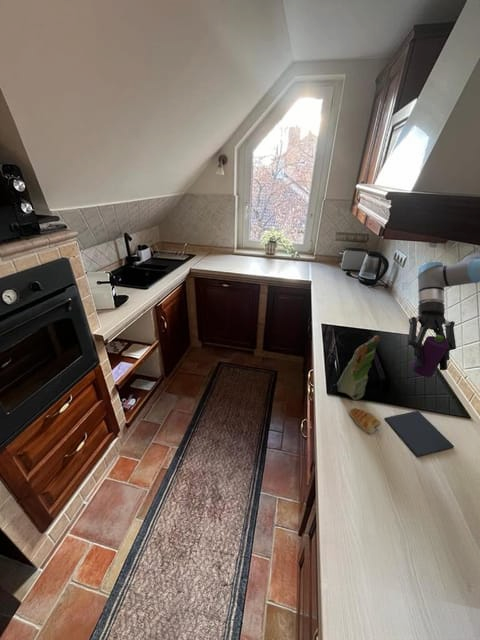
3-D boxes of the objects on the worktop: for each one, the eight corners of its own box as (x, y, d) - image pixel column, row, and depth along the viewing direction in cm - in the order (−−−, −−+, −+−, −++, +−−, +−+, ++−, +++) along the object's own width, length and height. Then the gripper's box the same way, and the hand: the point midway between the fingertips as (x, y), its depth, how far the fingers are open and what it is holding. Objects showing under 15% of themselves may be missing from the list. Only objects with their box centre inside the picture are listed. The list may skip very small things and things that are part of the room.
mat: (417, 412, 91) (418, 410, 91) (453, 447, 80) (454, 446, 79) (384, 419, 88) (384, 417, 88) (416, 457, 77) (417, 455, 76)
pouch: (361, 382, 103) (380, 331, 91) (369, 405, 93) (391, 351, 81) (333, 378, 105) (347, 327, 92) (338, 401, 95) (355, 347, 82)
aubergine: (422, 364, 94) (439, 330, 87) (437, 375, 89) (457, 340, 81) (407, 366, 93) (423, 332, 85) (422, 378, 88) (440, 343, 80)
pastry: (345, 416, 89) (347, 409, 87) (355, 408, 92) (358, 400, 90) (370, 436, 82) (373, 429, 80) (381, 426, 86) (384, 418, 84)
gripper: (454, 310, 93) (456, 373, 87) (397, 304, 96) (395, 364, 91) (469, 303, 86) (472, 372, 80) (406, 297, 89) (405, 362, 84)
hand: (431, 368), depth 86 cm, fingers closed on aubergine, 6 cm apart
